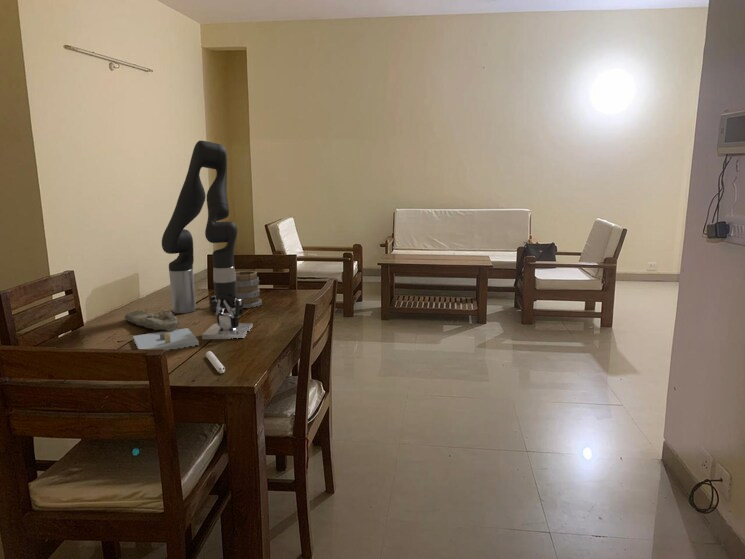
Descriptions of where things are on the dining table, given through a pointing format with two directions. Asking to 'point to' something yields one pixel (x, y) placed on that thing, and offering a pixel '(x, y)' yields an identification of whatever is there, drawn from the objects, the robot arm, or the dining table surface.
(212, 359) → the marker
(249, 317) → the dining table surface
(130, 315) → the long grey stone
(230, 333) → the flange plate
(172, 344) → the base plate
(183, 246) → the robot arm
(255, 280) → the tankard
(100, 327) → the dining table surface
